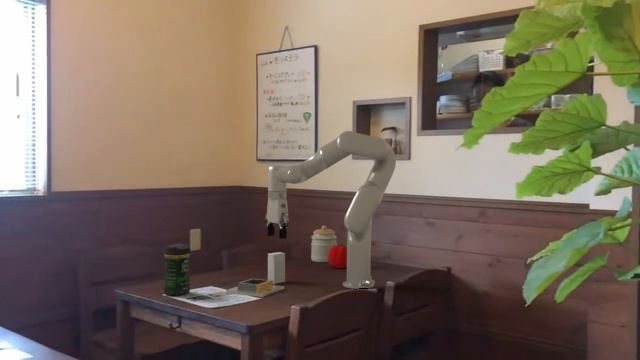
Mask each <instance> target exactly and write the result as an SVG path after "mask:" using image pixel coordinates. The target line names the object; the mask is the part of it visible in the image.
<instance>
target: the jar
mask: <svg viewBox="0 0 640 360" xmlns="http://www.w3.org/2000/svg"><path fill="white" fill-rule="evenodd" d="M312 233H313V235H311V237H310V238H311V243H310V244H311V254H310V255H311V256H310V258H311V261H312V262H318V263H329V261H328V254H329V251H330V249H331V248H332V247H334V246H338V242H337V238H338V236H336V231H335V230H333V229H331V228H327V226H326V225H322V226H321V228H319V229H315V230H314V231H313V232H312Z"/></svg>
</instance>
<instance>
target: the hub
mask: <svg viewBox="0 0 640 360" xmlns="http://www.w3.org/2000/svg"><path fill="white" fill-rule="evenodd" d="M282 290H285V286H282V285H275V284H273V280H268V279H264V278H263V279H262V278H253V277H252V278H250V279H246V280H242V281H240V282H237V286H235V287H231V288H229V289H226V290H225V292H227V293H226V294H233V293H234V295H242V296H251V297H257V298H258V297H259V298H265V297H267V296H271V295H272V294H275V293H278V292H280V291H282Z"/></svg>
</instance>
